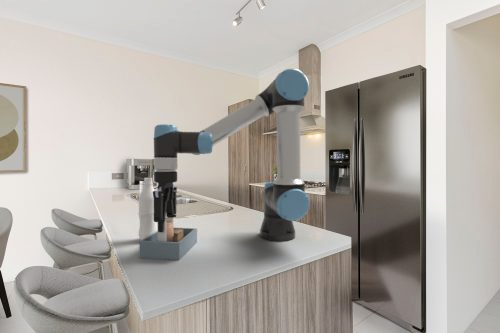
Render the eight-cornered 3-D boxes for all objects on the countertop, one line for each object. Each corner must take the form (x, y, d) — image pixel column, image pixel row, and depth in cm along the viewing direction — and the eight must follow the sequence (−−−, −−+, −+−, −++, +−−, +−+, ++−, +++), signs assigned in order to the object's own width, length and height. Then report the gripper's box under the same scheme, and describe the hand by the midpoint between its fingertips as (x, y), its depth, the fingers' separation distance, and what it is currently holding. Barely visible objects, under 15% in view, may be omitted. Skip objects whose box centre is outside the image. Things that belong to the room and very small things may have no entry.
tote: (197, 242, 98) (197, 228, 98) (179, 260, 81) (179, 243, 81) (163, 240, 100) (163, 227, 100) (139, 257, 83) (139, 241, 82)
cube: (183, 242, 97) (183, 229, 97) (177, 246, 92) (177, 233, 92) (171, 241, 98) (171, 228, 97) (164, 246, 93) (164, 232, 92)
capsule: (175, 241, 89) (175, 221, 88) (168, 246, 84) (169, 225, 83) (161, 240, 89) (161, 221, 89) (154, 245, 84) (154, 224, 84)
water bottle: (151, 243, 96) (151, 178, 96) (134, 242, 98) (134, 178, 97) (161, 238, 103) (161, 177, 103) (145, 237, 105) (145, 177, 104)
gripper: (166, 169, 95) (166, 230, 96) (141, 171, 77) (141, 246, 78) (186, 169, 94) (186, 231, 95) (164, 172, 76) (164, 248, 77)
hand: (165, 238), depth 86 cm, fingers closed on capsule, 5 cm apart
